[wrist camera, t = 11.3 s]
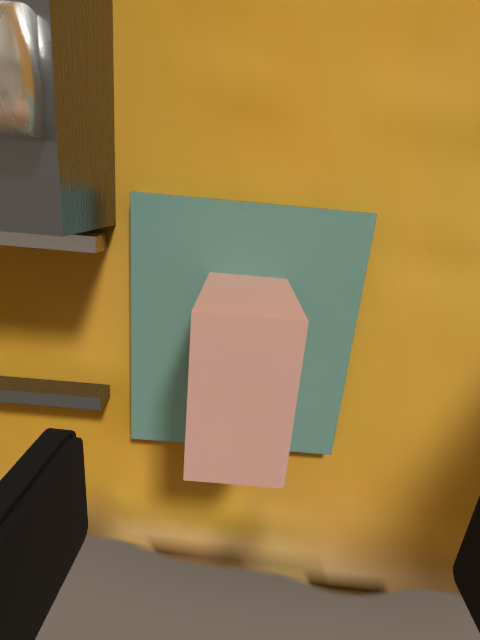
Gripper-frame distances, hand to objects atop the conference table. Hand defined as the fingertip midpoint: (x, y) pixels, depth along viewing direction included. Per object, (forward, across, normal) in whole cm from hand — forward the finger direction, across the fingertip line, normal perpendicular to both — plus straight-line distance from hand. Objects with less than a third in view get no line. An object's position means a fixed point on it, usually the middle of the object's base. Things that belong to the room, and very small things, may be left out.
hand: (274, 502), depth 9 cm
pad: (+13, +1, +1) cm, 13 cm away
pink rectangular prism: (+12, +1, +1) cm, 12 cm away
